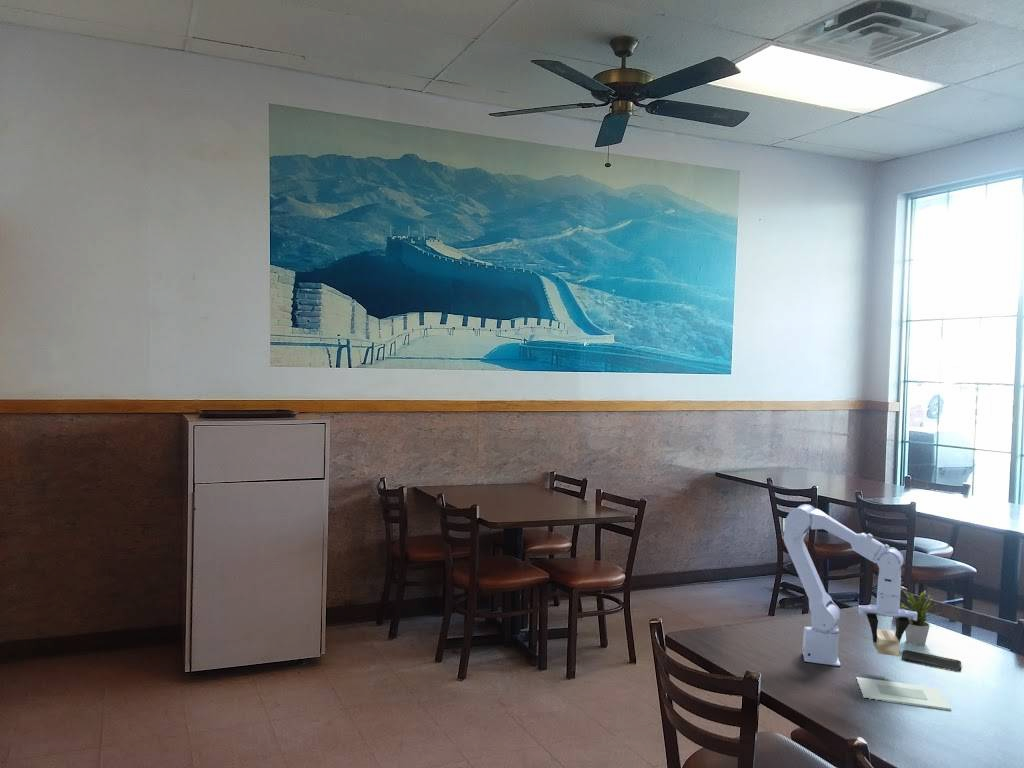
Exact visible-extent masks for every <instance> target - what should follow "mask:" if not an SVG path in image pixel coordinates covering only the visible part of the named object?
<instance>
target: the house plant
mask: <svg viewBox="0 0 1024 768" xmlns="http://www.w3.org/2000/svg"><path fill="white" fill-rule="evenodd" d="M901 591H902V592H904V594H905V595H906V598H907V599H905V598H904V597H902V596H901V595H900V598H901V600H902V601H903V602H904V603H905V604H904V603H902V602H900V607H899V609H903V610H909V611H915V612H917V621H915V620H912V619H909V625H908V627H907V628H906V629H905V631H904V632H905V634H904V635H905V639H906V640H905V642H906V643H907V644H910V645H912V646H913V645H914V646H916V647H917V646H918V647H923V646H926V643H927V639H928V634H929V630H930V626H931V625H930V623H929V621H930V619H929V618H928V619H927V617H929V616H931V615H933V614H937V615H940V613H938V612H931V613H929V614H927V615H926V613H927V612H928V611H929V610H930V609H931V608H933V606H935V605H936V604H937V602H936V603H934V604H932V600H933V596H932V597H931V598H930V594H928V596H927V598H926V600H925V601H924V599H925V597H926V595H927V590H926V589H925V590H924V591H922V592H920V594H919V596H918V597H917V600H916V598H915V597H914V595H913V594H912V593H911V592H910V593H909V594H908V593H907V591H905V590H904V589H903V588H901ZM929 599H930V600H929ZM906 602H907V603H906ZM923 603H924V604H923ZM931 604H932V605H931ZM930 605H931V606H930ZM909 606H910V607H909ZM927 621H928V622H927Z"/></svg>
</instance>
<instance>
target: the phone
mask: <svg viewBox="0 0 1024 768" xmlns="http://www.w3.org/2000/svg"><path fill="white" fill-rule="evenodd" d="M901 660H902V661H904V662H908V663H914V664H917V665H918V664H919V665H923V664H924V665H923V666H928V665H929V666H928V667H933V666H934V667H933V668H937V667H939V668H938V669H942V668H945V669H944V670H947V669H950V670H949V671H952V670H954V671H953V672H958V671H959V672H961V671H962V661H961V660H958V659H954V658H948V657H944V656H938V655H934V654H928V653H924V652H919V651H913V650H907V649H903V650H902V654H901Z"/></svg>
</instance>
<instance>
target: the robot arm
mask: <svg viewBox="0 0 1024 768" xmlns="http://www.w3.org/2000/svg"><path fill="white" fill-rule="evenodd" d="M784 523H785V525H784V530H783V531H784V532H783V537H782V539H783V543H784V546H785V547H786V550H787V552H788V555H789V557H790V559H791V561H792V563H793V567H795V570H796V573H797V576H798V577H799V581H801V584H802V586H803V589H804V591H805V593H806V595H807V598H808V608H809V612H810V614H811V615H810V616H811V617H810V621H811V626H804V627H803V637H802V646H801V647H802V648H801V652H802V655H803V661H804V662H805V663H806V662H807V663H813V664H822V665H828V666H829V665H830V666H834V667H835V666H836V667H841V662H840V659H839V655H838V654H839V640H840V639H839V638H840V628H839V626H838V622H839V621H840V620H841V617H842V611H841V609H840V608H839V606H838V605H837V604H836V603H835V602H834V601H833V599H832V596H830V594H829V593H827V592H826V589H825V586H824V584H823V582H822V580H821V578H820V575H819V573H818V571H817V568H816V566H815V564H814V561H813V559H812V557H811V554H810V553H809V551H808V547H807V546H806V543H805V540H804V539H805V538H806V535H807V533H808V530H809V529H810V530H824V531H827V532H828V533H831V534H832V535H834V536H836V537H837V538H840V539H841V540H843V541H845V542H847V543H849V544H850V545H851V549H852V551H853V552H855V553H857V554H859V555H860V556H862V557H864V558H865V559H866V560H869V561H870V562H872V563H874V564H877V567H878V568H879V569H878V576H877V590H876V605H862V604H861V605H860V604H859V605H858V610H857V612H858V614H859V615H865V616H866V618H867V620H868V623H869V627H870V630H871V634H872V643H873V642H877V629H878V625H879V619H878V617H879V616H881V617H889V618H895V635H896V637H897V638H898V640H899V644H900V642H901V639H902V637H903V634H904V632H905V629H906V628H907V627H908V625H909V619H912V620H915V621H917V612H915V611H909V610H905V609H903V608H900V605H901V597H900V596H901V592H902V590H901V589H902V577H901V576H902V566H903V564H904V556H903V553H902V552H900V551H899V550H898V549H897V548H896V547H890V545H888V544H887V543H885V544H884V543H882V542H881V541H879V540H877V539H875V538H873V537H874V535H873V534H872V533H870V532H869V533H866V532H861V533H856V532H855V531H853V530H852V529H850V528H848V527H847V526H845V525H844V524H842V523H840V521H838V520H836V519H835V518H833V517H831V516H830V515H828V514H827V513H826V512H824V511H823V510H821V509H819V508H815V507H814V506H813V505H811V504H806V503H804V504H800V505H799V506H798V507H796V508H793V509H792V510H790V511H789V513H788V514H787V516H786V517H785V519H784Z"/></svg>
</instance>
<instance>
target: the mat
mask: <svg viewBox="0 0 1024 768" xmlns="http://www.w3.org/2000/svg"><path fill="white" fill-rule="evenodd" d="M855 679H857V680H856V682H857V685H858V684H859V685H858V687H859V689H861V690H860V692H862V693H861V695H862V694H863V695H862V697H864V698H869V699H868V700H871V699H875V700H874V701H878V700H882V701H881V702H885V701H886V702H888V703H894V704H900V703H901V705H907V706H915V707H921V706H922V707H921V708H928V707H931V708H930V709H936V708H937V710H944V711H950V712H951V711H952V707H951V706H950V704H949V702H948V701H947V699H946V698H945V696H944V694H943V693H942V692H941V690H940V688H939V687H935V686H934V687H933V686H927V685H918V684H913V683H912V684H910V683H904V682H896V681H889V680H883V679H881V680H880V679H876V678H875V679H874V678H866V677H859V676H856V677H855ZM864 698H863V699H864Z"/></svg>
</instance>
